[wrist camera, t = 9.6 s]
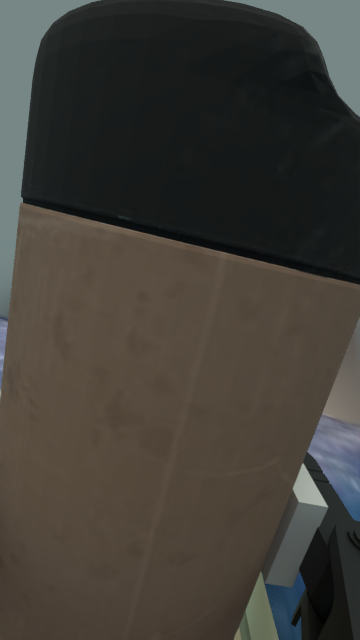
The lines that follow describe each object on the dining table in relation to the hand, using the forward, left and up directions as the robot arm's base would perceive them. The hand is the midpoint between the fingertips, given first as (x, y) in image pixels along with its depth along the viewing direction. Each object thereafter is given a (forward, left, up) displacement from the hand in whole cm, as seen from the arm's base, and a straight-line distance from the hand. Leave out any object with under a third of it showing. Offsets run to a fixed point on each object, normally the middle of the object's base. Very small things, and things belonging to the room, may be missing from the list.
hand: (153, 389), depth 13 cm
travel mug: (0, +5, -11) cm, 12 cm away
